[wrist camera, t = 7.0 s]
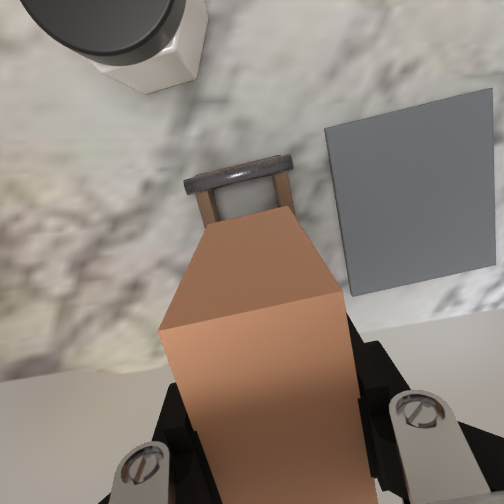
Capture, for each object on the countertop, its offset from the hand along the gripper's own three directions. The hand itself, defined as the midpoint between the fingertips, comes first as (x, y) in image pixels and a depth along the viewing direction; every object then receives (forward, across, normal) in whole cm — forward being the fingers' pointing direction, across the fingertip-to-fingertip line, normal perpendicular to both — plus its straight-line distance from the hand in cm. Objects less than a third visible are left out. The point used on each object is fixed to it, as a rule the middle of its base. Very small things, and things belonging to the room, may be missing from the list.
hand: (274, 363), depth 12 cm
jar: (+21, +4, -17) cm, 28 cm away
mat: (+21, -14, +1) cm, 26 cm away
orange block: (+6, 0, 0) cm, 6 cm away
